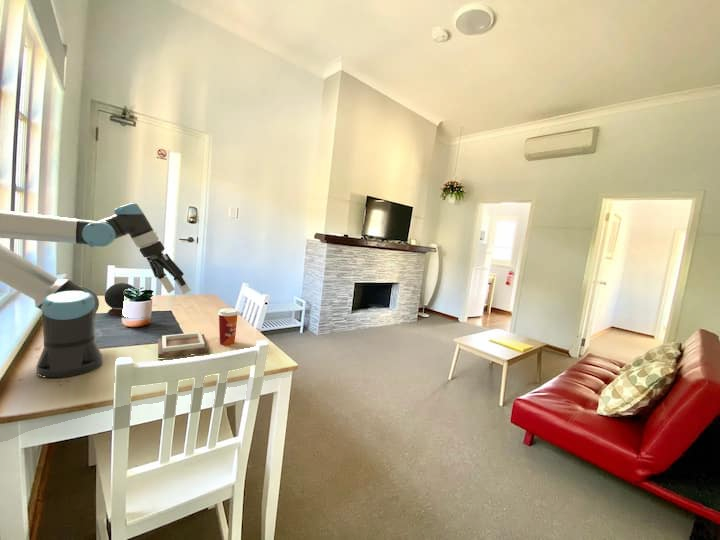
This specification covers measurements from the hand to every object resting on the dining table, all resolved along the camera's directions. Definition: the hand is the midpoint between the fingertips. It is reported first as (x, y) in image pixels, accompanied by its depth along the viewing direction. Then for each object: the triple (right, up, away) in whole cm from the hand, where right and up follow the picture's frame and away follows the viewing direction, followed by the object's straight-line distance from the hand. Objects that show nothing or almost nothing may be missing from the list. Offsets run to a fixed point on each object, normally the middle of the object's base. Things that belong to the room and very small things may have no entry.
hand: (179, 291), depth 124 cm
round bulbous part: (-46, -13, +29) cm, 55 cm away
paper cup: (+18, -22, +3) cm, 28 cm away
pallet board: (+5, -21, -5) cm, 23 cm away
